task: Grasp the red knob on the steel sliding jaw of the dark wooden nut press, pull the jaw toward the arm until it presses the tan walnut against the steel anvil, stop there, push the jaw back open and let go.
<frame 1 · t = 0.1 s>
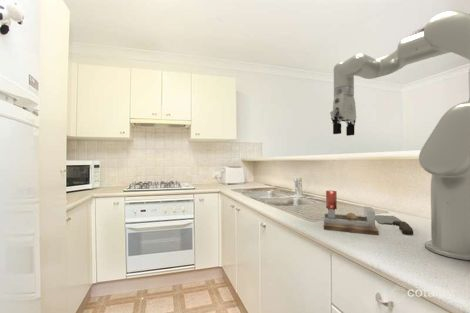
hand: (343, 134, 94), 37 cm above the worktop, tool pointing down, fingers open, 9 cm apart
press base: (348, 226, 91), on the worktop
walnut: (351, 217, 91), point 3 cm above the worktop, touching press base
cleaver: (392, 225, 95), on the worktop
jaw: (331, 205, 94), point 8 cm above the worktop, slide at 0.0 cm
press frame: (347, 215, 92), on the press base, point 4 cm above the worktop
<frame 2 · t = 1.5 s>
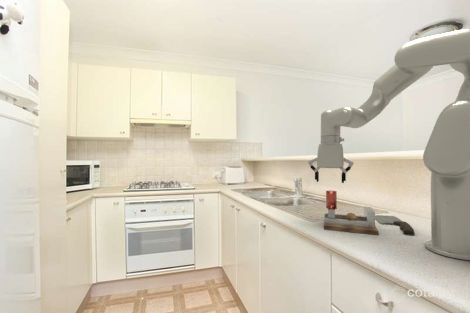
hand: (329, 182, 95), 18 cm above the worktop, tool pointing down, fingers open, 9 cm apart
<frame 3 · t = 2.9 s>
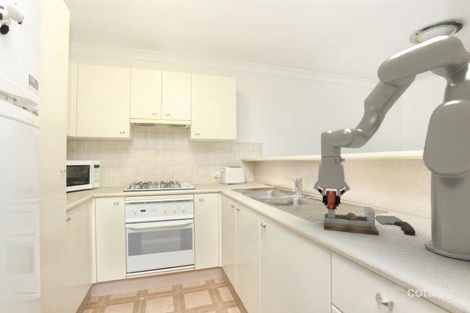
hand: (331, 205, 94), 8 cm above the worktop, tool pointing down, fingers closed on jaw, 4 cm apart
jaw: (331, 205, 94), point 8 cm above the worktop, slide at 0.0 cm, touching gripper
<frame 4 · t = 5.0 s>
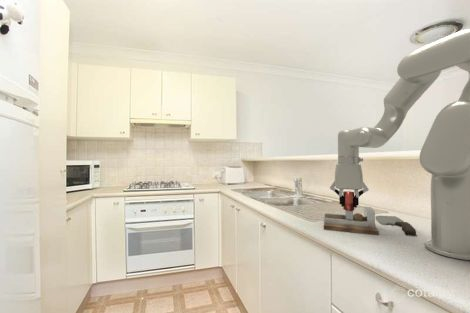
hand: (348, 206, 91), 8 cm above the worktop, tool pointing down, fingers closed on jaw, 4 cm apart
walnut: (358, 218, 90), point 3 cm above the worktop, tilted 69°, touching press base
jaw: (348, 206, 91), point 8 cm above the worktop, slide at 6.4 cm, touching gripper
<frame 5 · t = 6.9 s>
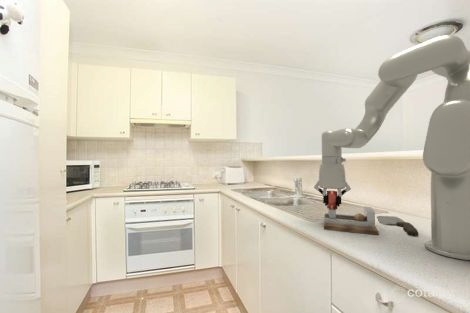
hand: (332, 205, 94), 8 cm above the worktop, tool pointing down, fingers closed on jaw, 4 cm apart
walnut: (359, 218, 90), point 3 cm above the worktop, tilted 84°, touching press base
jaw: (332, 205, 94), point 8 cm above the worktop, slide at 0.3 cm, touching gripper
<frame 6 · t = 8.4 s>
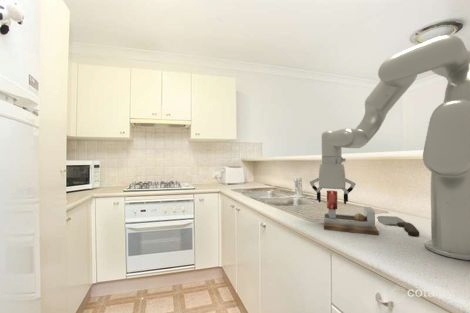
hand: (332, 202, 94), 9 cm above the worktop, tool pointing down, fingers open, 9 cm apart
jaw: (332, 205, 94), point 8 cm above the worktop, slide at 0.3 cm
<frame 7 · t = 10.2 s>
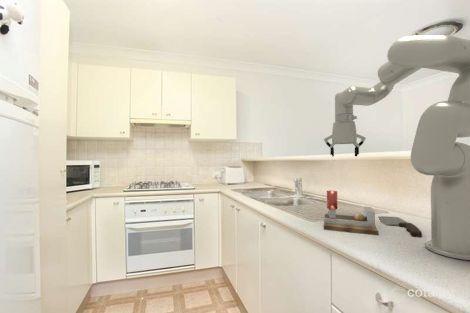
hand: (344, 156, 105), 28 cm above the worktop, tool pointing down, fingers open, 9 cm apart
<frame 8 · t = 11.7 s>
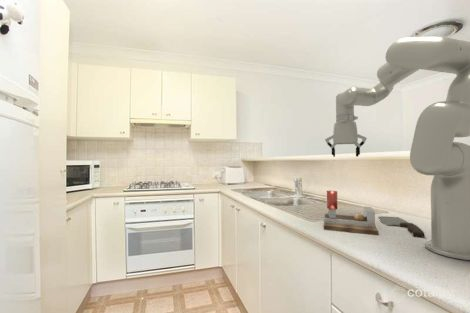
hand: (345, 156, 106), 28 cm above the worktop, tool pointing down, fingers open, 9 cm apart
at the end: walnut 0.1 cm from the target spot, point 3.5 cm above the worktop; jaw slide at 0.3 cm; the gripper is holding nothing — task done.
